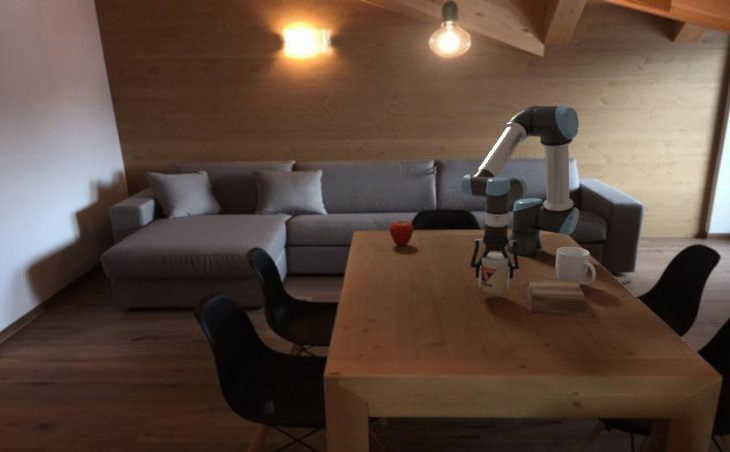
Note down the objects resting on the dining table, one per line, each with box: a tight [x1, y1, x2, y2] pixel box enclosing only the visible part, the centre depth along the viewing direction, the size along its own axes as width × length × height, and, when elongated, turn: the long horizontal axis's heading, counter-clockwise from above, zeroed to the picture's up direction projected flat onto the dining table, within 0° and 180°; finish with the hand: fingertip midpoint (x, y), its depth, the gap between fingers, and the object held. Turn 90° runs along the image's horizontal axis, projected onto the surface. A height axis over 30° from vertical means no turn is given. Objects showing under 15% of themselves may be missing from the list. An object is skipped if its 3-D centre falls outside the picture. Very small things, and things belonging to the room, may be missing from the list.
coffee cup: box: [480, 251, 509, 294], centre depth 172 cm, size 9×9×12 cm
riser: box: [526, 277, 587, 318], centre depth 166 cm, size 16×16×6 cm
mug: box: [555, 246, 597, 287], centre depth 180 cm, size 15×11×13 cm
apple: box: [389, 220, 414, 247], centre depth 230 cm, size 11×11×12 cm
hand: (493, 286), depth 173 cm, fingers closed on coffee cup, 9 cm apart
